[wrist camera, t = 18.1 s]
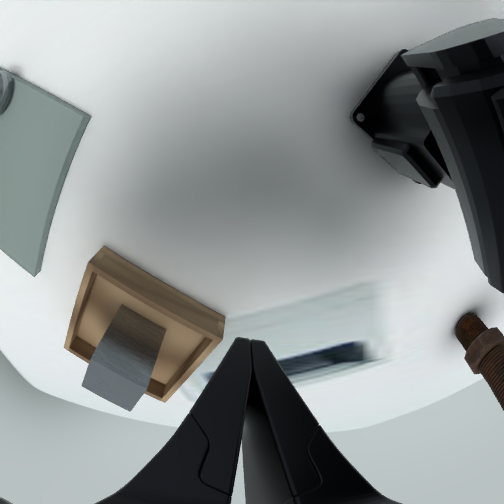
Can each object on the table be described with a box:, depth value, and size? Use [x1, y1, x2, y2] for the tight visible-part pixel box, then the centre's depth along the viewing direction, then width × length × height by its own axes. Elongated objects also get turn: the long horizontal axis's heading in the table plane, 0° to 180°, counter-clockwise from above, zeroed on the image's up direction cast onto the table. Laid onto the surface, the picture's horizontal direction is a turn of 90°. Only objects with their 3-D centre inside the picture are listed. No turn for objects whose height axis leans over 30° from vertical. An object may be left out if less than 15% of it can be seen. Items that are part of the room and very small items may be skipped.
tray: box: [64, 246, 225, 402], centre depth 21 cm, size 10×10×2 cm
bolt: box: [455, 313, 504, 410], centre depth 16 cm, size 6×5×15 cm
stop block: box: [82, 304, 167, 411], centre depth 19 cm, size 4×4×6 cm
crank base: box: [0, 68, 91, 277], centre depth 15 cm, size 14×12×2 cm
